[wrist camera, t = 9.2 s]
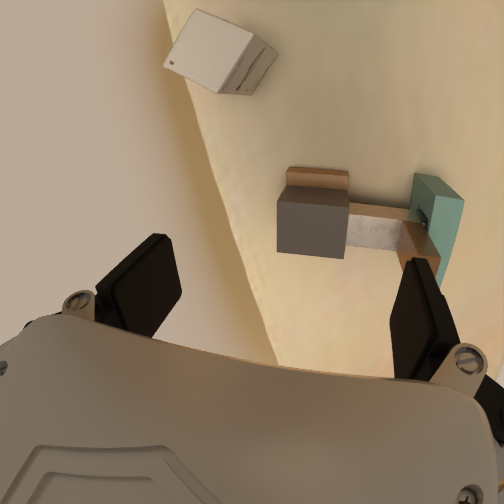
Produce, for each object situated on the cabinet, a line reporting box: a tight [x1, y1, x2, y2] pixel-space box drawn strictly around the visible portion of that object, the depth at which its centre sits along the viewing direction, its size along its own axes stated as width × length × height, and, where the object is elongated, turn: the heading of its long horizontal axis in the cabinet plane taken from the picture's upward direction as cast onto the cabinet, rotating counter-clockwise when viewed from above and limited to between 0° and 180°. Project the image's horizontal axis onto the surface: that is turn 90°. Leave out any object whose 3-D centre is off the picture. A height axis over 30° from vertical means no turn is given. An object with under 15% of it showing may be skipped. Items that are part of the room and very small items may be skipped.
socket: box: [409, 173, 465, 289], centre depth 32 cm, size 12×4×10 cm, turn 2°
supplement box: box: [163, 9, 278, 95], centre depth 27 cm, size 7×7×13 cm
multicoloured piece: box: [345, 202, 441, 277], centre depth 30 cm, size 4×14×12 cm, turn 92°
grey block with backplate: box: [277, 167, 350, 259], centre depth 36 cm, size 10×8×9 cm
